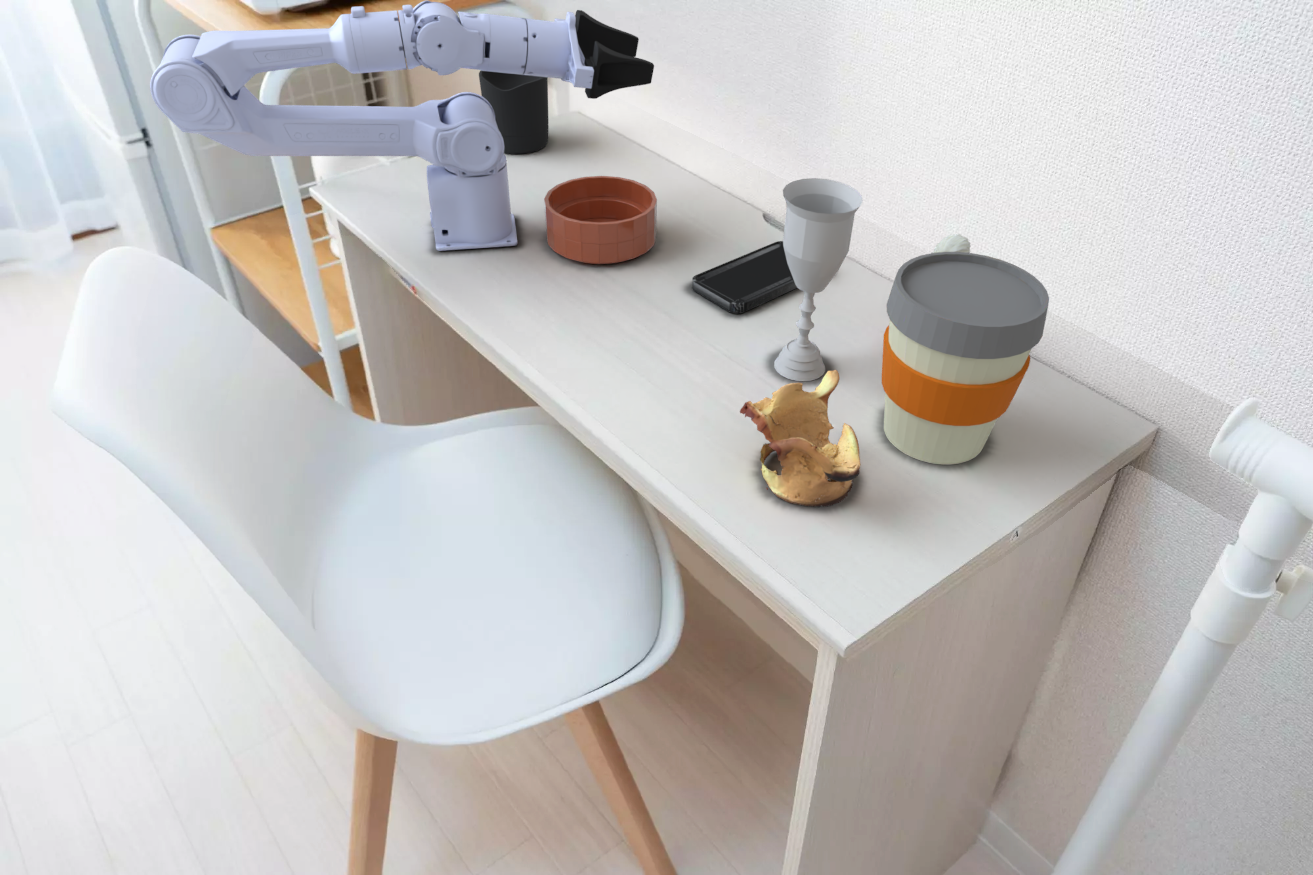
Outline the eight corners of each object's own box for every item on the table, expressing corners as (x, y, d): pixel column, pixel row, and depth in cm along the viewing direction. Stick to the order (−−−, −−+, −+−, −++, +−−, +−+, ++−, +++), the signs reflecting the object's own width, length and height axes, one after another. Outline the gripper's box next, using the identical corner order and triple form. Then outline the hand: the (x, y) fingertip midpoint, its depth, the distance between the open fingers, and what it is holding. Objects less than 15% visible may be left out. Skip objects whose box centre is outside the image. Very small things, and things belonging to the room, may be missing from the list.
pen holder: (528, 126, 141) (522, 58, 135) (564, 145, 135) (560, 75, 129) (473, 141, 136) (466, 70, 130) (508, 161, 131) (502, 89, 124)
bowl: (552, 271, 107) (549, 227, 103) (543, 221, 117) (540, 179, 113) (664, 264, 108) (665, 220, 105) (646, 214, 118) (646, 173, 115)
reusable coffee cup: (1034, 462, 82) (1086, 315, 72) (906, 490, 79) (944, 339, 69) (956, 382, 91) (994, 242, 81) (839, 404, 88) (864, 261, 78)
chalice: (752, 353, 94) (768, 184, 83) (812, 340, 96) (836, 173, 85) (785, 393, 89) (807, 218, 78) (848, 379, 91) (878, 207, 80)
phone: (687, 278, 103) (782, 239, 111) (687, 287, 104) (781, 247, 112) (737, 307, 99) (832, 264, 106) (736, 316, 99) (831, 273, 107)
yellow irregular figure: (718, 465, 81) (724, 386, 76) (794, 420, 86) (805, 343, 81) (824, 541, 74) (838, 460, 69) (900, 487, 79) (919, 408, 74)
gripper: (537, 34, 94) (666, 48, 98) (518, -15, 104) (636, 0, 108) (530, 102, 98) (653, 113, 102) (512, 49, 108) (626, 61, 112)
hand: (644, 59), depth 105 cm, fingers open, 7 cm apart
